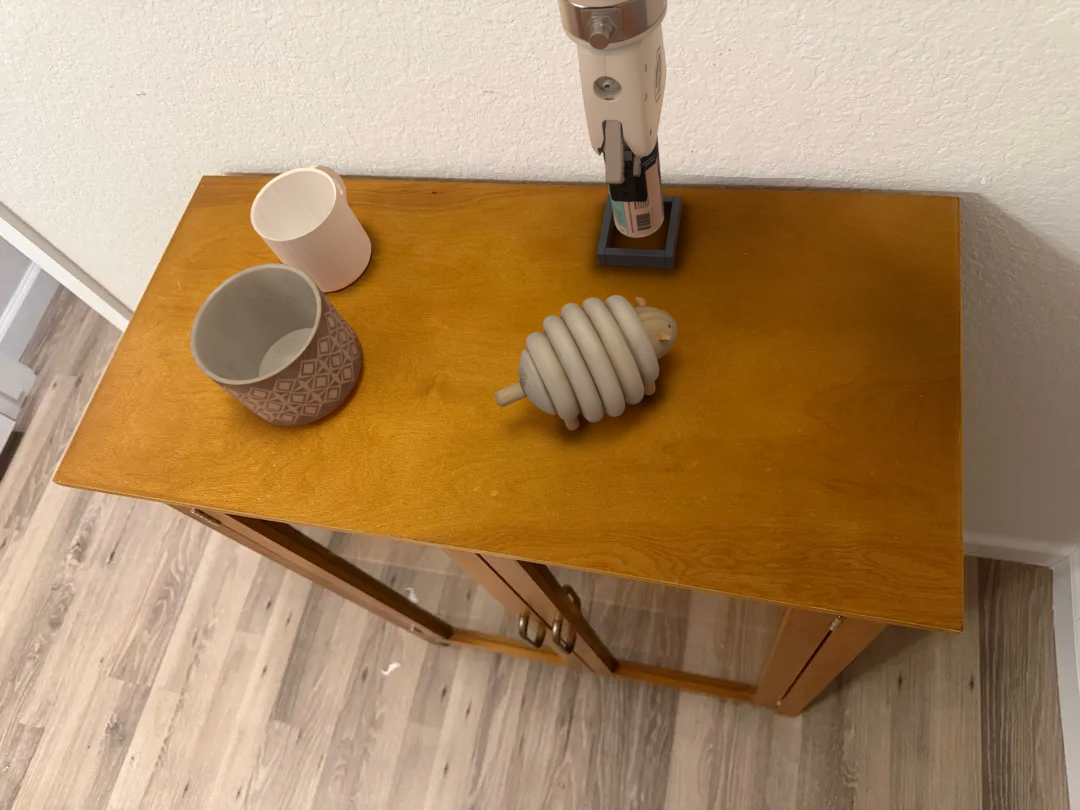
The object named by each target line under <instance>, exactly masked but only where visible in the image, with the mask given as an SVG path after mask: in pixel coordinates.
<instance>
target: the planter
mask: <svg viewBox="0 0 1080 810" xmlns="http://www.w3.org/2000/svg"><path fill="white" fill-rule="evenodd" d="M189 344H190V345H189V346H190V352H191V355H192V358H193V361H194V362H195V365H196V367H197V368H198V369H199V370H200V371H201V372H202V373H203V374H204V375H205V376H206V377H208V378H209V379H210V380H212V381H213V382H214V383H216V385H218V386H219V387H221V389H223V390H224V391H225V392H226V393H228V394H229V395H231V396H232V397H233V398H234V399H235V400H237V401H238V402H239V403H241V404H242V405H243V406H244V407H246V408H247V409H248V410H250V411H251V412H252V413H253V414H254V415H255V416H257V417H258V418H260V419H261V420H263V421H264V422H267V423H269V424H272V425H275V426H280V427H298V426H303V425H307V424H310V423H313V422H316V421H318V420H320V419H322V418H324V417H326V416H327V415H329V414H330V413H332V412H333V411H334V410H335V409H337V408H338V407H339V406H340V405H341V404H342V403H343V402H344V401H345V400H346V399H347V397H348V396H349V395H350V393H351V392H352V390H353V388H354V387H355V384H356V383H357V381H358V378H359V375H360V372H361V367H362V358H363V357H362V355H363V354H362V347H361V344H360V340H359V338H358V336H357V335H356V333H355V331H354V330H353V328H352V327H351V326H350V325H349V323H348V322H347V321H346V320H345V318H344V317H343V316H342V315H341V314H340V312H339V311H338V310H337V309H336V307H335V306H334V305H333V303H332V302H331V301H330V300H329V298H328V297H327V296H326V295H325V293H324V292H322V291H321V290H320V288H319V287H318V286H317V285H316V283H315V282H314V281H313V280H312V278H311V277H310V276H309V275H307V274H306V273H305V272H304V271H302V270H300V269H299V268H296V267H294V266H291V265H287V264H283V263H280V262H271V263H270V262H268V263H263V264H262V263H261V264H256V265H252V266H250V267H247V268H245V269H242V270H240V271H238V272H235V273H234V274H233V275H231V276H229V277H228V278H226V279H225V280H223V281H222V282H221V283H220V284H219V285H217V286H216V287H215V289H213V290H212V291H211V292H210V294H209V295H208V296H207V297H206V298H205V299H204V301H203V302H202V304H201V305H200V307H199V309H198V311H197V313H196V315H195V317H194V319H193V322H192V326H191V330H190V337H189Z"/></svg>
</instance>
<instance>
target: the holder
mask: <svg viewBox="0 0 1080 810" xmlns="http://www.w3.org/2000/svg"><path fill="white" fill-rule="evenodd" d="M662 196H663V208H664V215H669V222H668V229H667V235H666V242H665V249H645V248H623V247H622V248H621V247H611V245H612V240H613V234H614V229H615V221H614V215H613V209H612V203H611V198H610V193H608V194H607V197H606V203H605V204H606V205H605V209H604V213H603V218H602V219H603V220H602V223H601V229H600V235H599V239H598V243H597V244H598V246H597V250H596V257H597V261H598V266H604V267H605V266H606V267H607V266H608V267H624V268H625V267H626V268H645V269H667V270H673V269H674V267H675V259H676V254H677V245H678V241H679V240H678V239H679V231H680V225H681V217H682V211H683V199H682V198H683V197H682V195H663V194H662Z"/></svg>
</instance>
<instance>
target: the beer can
mask: <svg viewBox="0 0 1080 810" xmlns="http://www.w3.org/2000/svg"><path fill="white" fill-rule="evenodd" d="M602 157H603V161H604V164H605V150H604V151H603V153H602ZM623 161H632V151H623ZM660 161H661V160H660V149H659V136H658V134H657V138H656V143H655V146H654V149H653V151H652V152H651V153H650V154H649V155H648V156H641V165H642V166H645V172H646V181H647V191H648V197H647V201H646V202H621V201H613V200H612V199H611V203H612V209H613V215H614V221H615V224H614V226H615V227H616V229H617V230H618V231H619V232H620V233H621V234H622V235H624V236H626V237H629V238H644V237H648V236H650V235H652V234H654V233H656V232H657V231H658V229H660V228H661V226H662V224H663V222H664V219H665V214H664V208H663V196H662V195H663V186H662V185H663V184H662V183H663V182H662V173H661V162H660ZM607 185H608V191H609V194H610V188H609V184H607ZM610 198H611V194H610Z"/></svg>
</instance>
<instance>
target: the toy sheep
mask: <svg viewBox="0 0 1080 810" xmlns="http://www.w3.org/2000/svg"><path fill="white" fill-rule="evenodd" d="M559 315H560V317H559V316H558V315H555V314H552V315H551V314H550V315H548V316H545V318H544V319H543V321H542V330H543V331H534V332H531V333H530V334H529V335H528V336H527V337H526V339H525V346H526V348H524V349H523V350H522V351H521V354H520V356H519V362H518V378H519V381H517V382H514V383H511V384H509V385H507V386H505V387H502V388H500V389H498V390H497V391H495V392H494V399H495V401H496V404H497V405H498V407H501V408H505V407H507V406H509V405H512V404H513V403H516V402H518V401H521V400H523V399H526V398H527V399H528V400H529V401H530V402H531V403H532V404H533V405H534V406H535V407H536V408H538V409H539V410H540V411H542V412H544V413H547V414H549V415H551V416H556V415H557V414H558V416H559V418H560V419H561V420H563V421H564V425H565V427H566V428H567V429H568V430H569V431H576V430H577V429H578V428H579V427H580V420H579V417H578V416H579V415H580V413H581V414H582V416H583V417H584V418H585V420H587V421H588V422H590V423H597V422H599V421H601V420H602V419H603V417H604V414H606V415H607V416H609V417H611V418H612V417H614V418H616V417H620V416H621V415H622V414H623V413H624V412H625V409H626V404H628V405H636V404H639V403H640V402H641V401H642V400H643V399H644V397H645V396H652V395H653V394H655V392H656V382H655V381H656V380H657V379H658V377H659V375H660V365H659V361H658V360H659V359H661V358H662V357H663V356H665V355H666V354H667V353H668V352H669V351H670V350H671V349H672V348H673V346H674V345H675V342H676V341H677V339H678V331H679V329H678V324H677V322H676V319H674V317H673V315H671V314H670V313H668V312H667V311H665V310H664V309H661V308H658V307H653V306H647V299H645V298H644V297H641V296H636V297H635V306H632V304H631V303H630V302H629V301H628V299H626V298H625V297H624V296H622V295H619V294H613V295H610V296H608V297H607V298H606V299H605V301H604V302H603V301H602V299H600V298H599V297H588V298H586V299H585V300H584V301H583V302H582V304H581V306H579V304H577V303H574V302H568V303H566V304H564V305H563V307H562V308H561V310H560V313H559ZM644 395H645V396H644Z"/></svg>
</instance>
